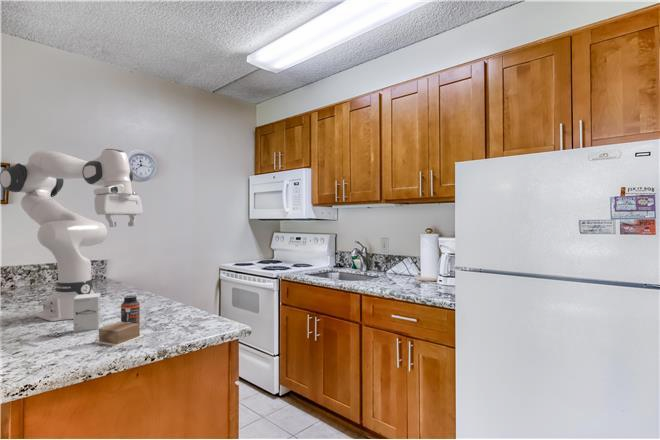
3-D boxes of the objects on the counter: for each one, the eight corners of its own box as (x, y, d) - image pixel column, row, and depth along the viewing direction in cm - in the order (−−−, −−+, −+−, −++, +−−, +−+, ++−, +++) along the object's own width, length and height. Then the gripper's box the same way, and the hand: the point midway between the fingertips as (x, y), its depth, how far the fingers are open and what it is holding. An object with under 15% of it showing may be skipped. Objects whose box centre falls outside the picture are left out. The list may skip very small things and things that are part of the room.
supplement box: (72, 335, 121) (72, 298, 121) (76, 329, 128) (76, 294, 127) (98, 332, 124) (98, 296, 124) (100, 326, 131) (100, 292, 131)
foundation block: (99, 341, 112) (98, 328, 112) (121, 333, 120) (121, 321, 120) (118, 344, 109) (118, 331, 109) (139, 336, 117) (139, 324, 117)
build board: (74, 344, 113) (74, 340, 113) (114, 330, 126) (114, 327, 126) (117, 351, 107) (117, 347, 107) (154, 336, 120) (154, 332, 120)
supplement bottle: (131, 330, 127) (131, 298, 126) (116, 329, 128) (116, 297, 128) (143, 325, 132) (143, 295, 132) (129, 324, 134) (129, 294, 133)
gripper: (131, 193, 147) (135, 226, 147) (89, 189, 127) (93, 228, 127) (144, 191, 146) (148, 225, 146) (104, 187, 126) (108, 226, 126)
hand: (122, 226), depth 136 cm, fingers open, 8 cm apart
